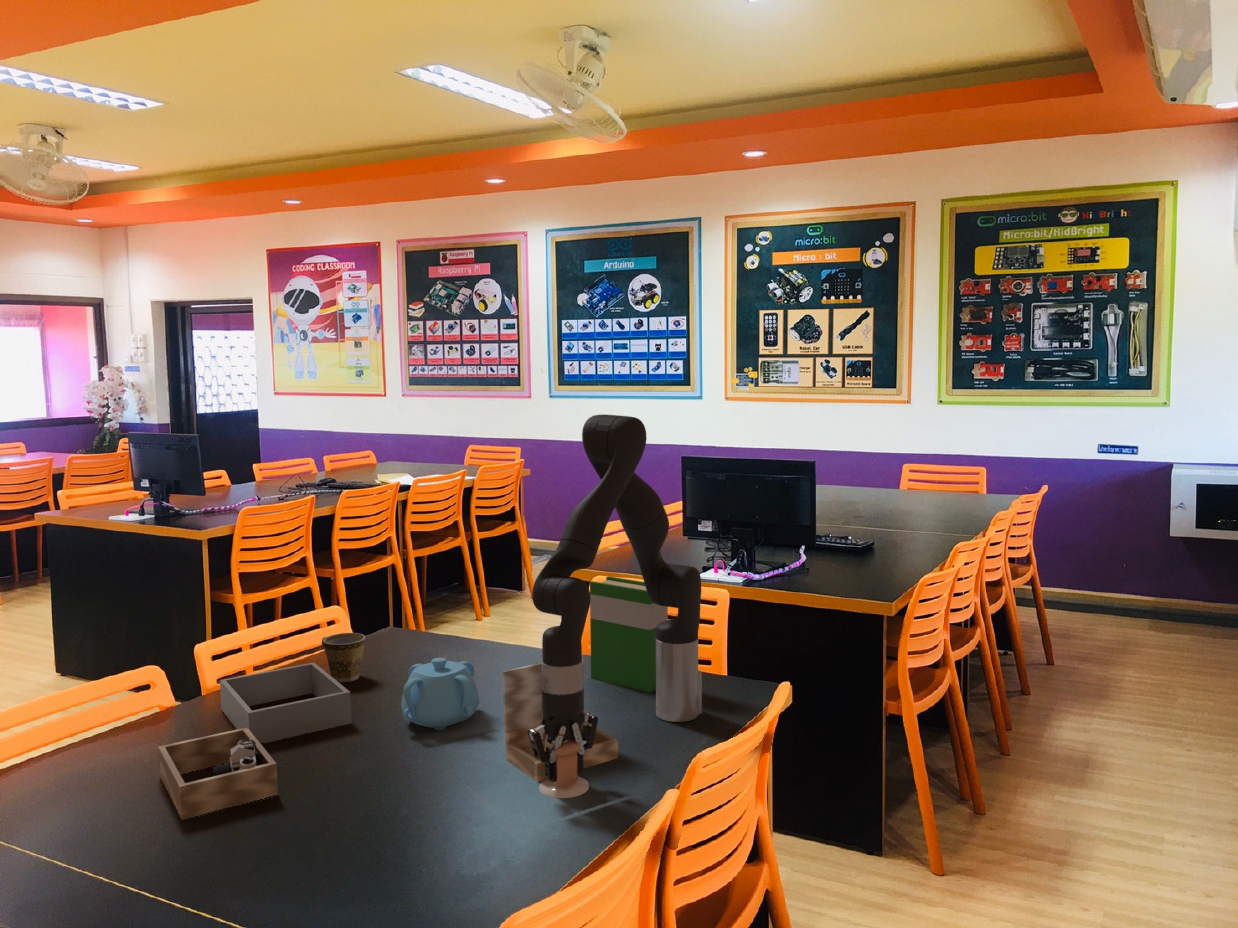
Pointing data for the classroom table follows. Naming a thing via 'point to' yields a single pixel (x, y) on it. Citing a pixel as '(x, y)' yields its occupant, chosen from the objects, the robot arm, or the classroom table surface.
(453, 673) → the decorative pot
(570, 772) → the pot
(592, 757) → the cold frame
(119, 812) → the classroom table surface
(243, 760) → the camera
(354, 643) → the ceramic cup
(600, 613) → the hardback book
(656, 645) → the robot arm
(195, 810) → the camera cubby
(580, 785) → the saucer
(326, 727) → the tray
